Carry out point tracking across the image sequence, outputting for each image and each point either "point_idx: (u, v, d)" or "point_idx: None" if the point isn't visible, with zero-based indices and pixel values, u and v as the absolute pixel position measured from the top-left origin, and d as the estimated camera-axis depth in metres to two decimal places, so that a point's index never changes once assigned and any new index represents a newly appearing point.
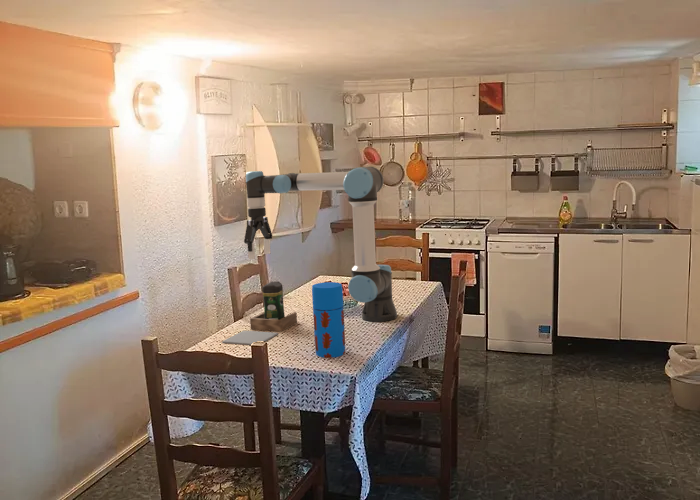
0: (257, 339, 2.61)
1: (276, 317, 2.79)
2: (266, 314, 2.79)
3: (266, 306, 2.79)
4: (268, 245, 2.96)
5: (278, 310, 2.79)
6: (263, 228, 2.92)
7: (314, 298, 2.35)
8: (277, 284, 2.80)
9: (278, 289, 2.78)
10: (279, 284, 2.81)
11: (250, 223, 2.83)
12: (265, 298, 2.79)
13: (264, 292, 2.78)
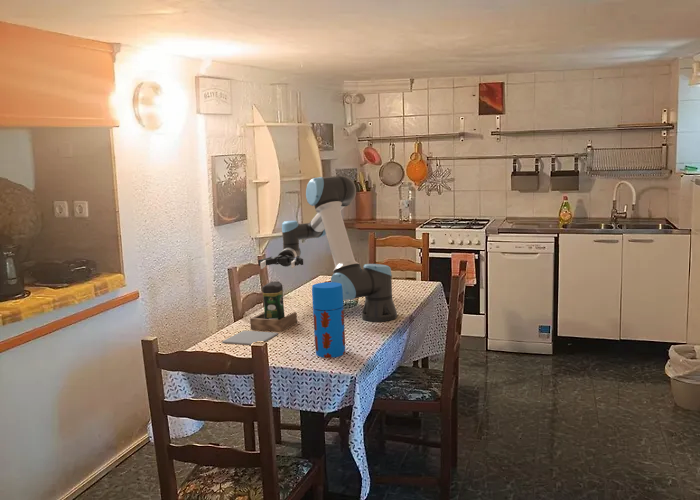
0: (257, 339, 2.61)
1: (276, 317, 2.79)
2: (266, 314, 2.79)
3: (266, 306, 2.79)
4: None
5: (278, 310, 2.79)
6: (289, 258, 3.00)
7: (314, 298, 2.35)
8: (277, 284, 2.80)
9: (278, 289, 2.78)
10: (279, 284, 2.81)
11: None
12: (265, 298, 2.79)
13: (264, 292, 2.78)
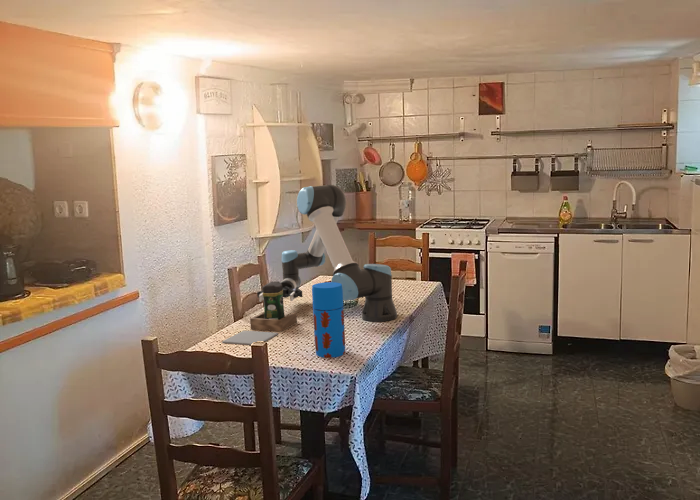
0: (257, 339, 2.61)
1: (276, 317, 2.79)
2: (266, 314, 2.79)
3: (266, 306, 2.79)
4: None
5: (278, 310, 2.79)
6: (288, 290, 2.99)
7: (314, 298, 2.35)
8: (277, 284, 2.80)
9: (278, 289, 2.78)
10: (279, 284, 2.81)
11: None
12: (265, 298, 2.79)
13: (264, 292, 2.78)
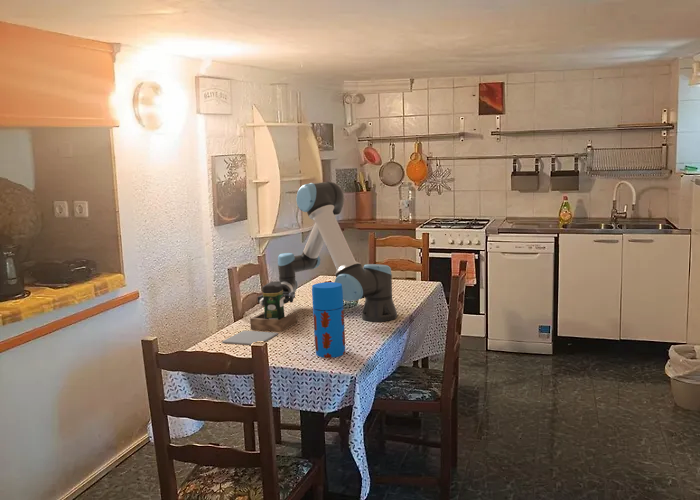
0: (257, 339, 2.61)
1: (276, 316, 2.79)
2: (266, 314, 2.79)
3: (266, 306, 2.79)
4: (281, 299, 2.80)
5: (278, 310, 2.79)
6: None
7: (314, 298, 2.35)
8: (277, 284, 2.80)
9: (278, 289, 2.78)
10: (279, 284, 2.81)
11: None
12: (265, 298, 2.79)
13: (264, 292, 2.78)
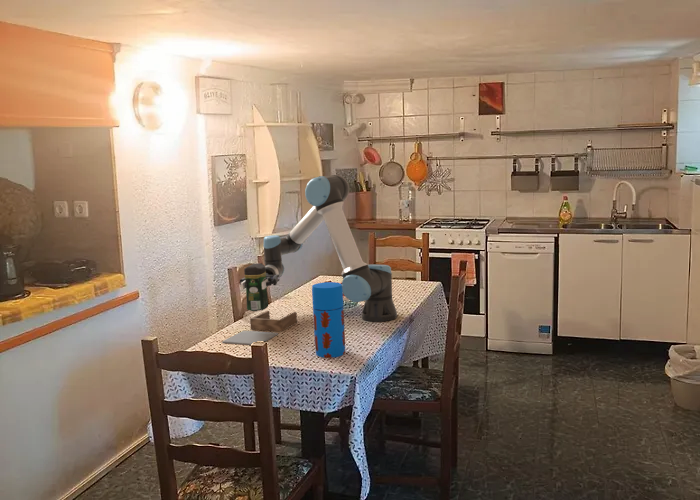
0: (257, 339, 2.61)
1: (258, 299, 2.69)
2: (248, 297, 2.70)
3: (248, 288, 2.69)
4: None
5: (260, 293, 2.69)
6: (266, 277, 2.80)
7: (314, 298, 2.35)
8: (260, 266, 2.70)
9: (260, 271, 2.68)
10: (262, 266, 2.71)
11: None
12: (247, 280, 2.69)
13: (246, 274, 2.68)
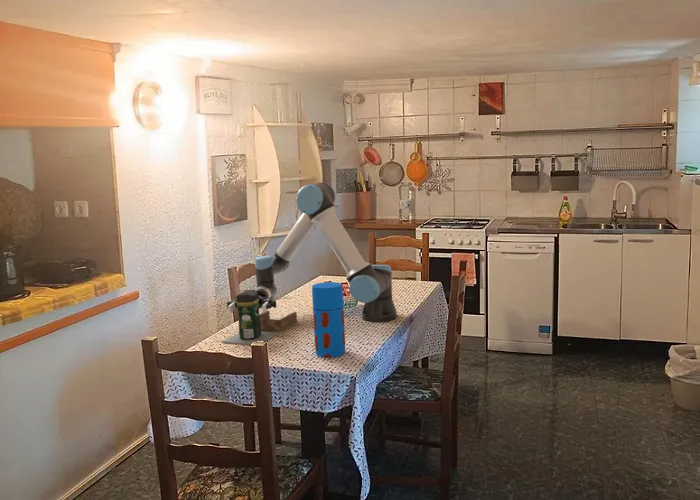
0: (257, 339, 2.61)
1: (251, 327, 2.60)
2: (240, 325, 2.61)
3: (240, 316, 2.61)
4: None
5: (253, 320, 2.61)
6: (261, 300, 2.71)
7: (314, 298, 2.35)
8: (252, 293, 2.62)
9: (253, 298, 2.60)
10: (254, 293, 2.63)
11: None
12: (239, 308, 2.60)
13: (238, 301, 2.59)
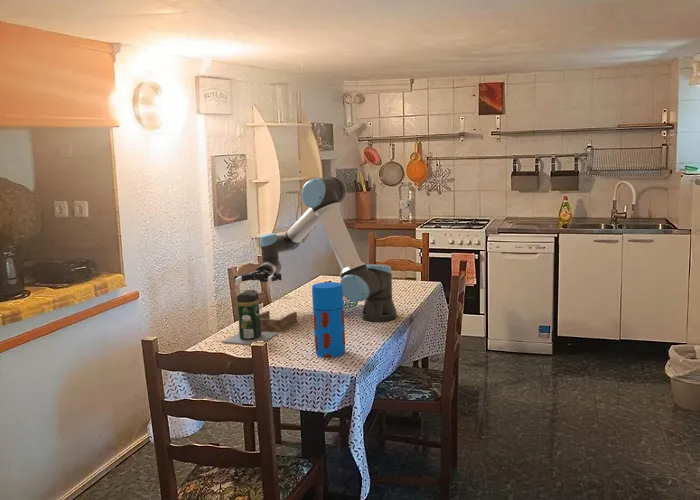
0: (257, 339, 2.61)
1: (252, 328, 2.60)
2: (241, 325, 2.61)
3: (240, 316, 2.61)
4: None
5: (253, 321, 2.61)
6: (267, 273, 2.83)
7: (314, 298, 2.35)
8: (252, 293, 2.62)
9: (253, 298, 2.60)
10: (255, 293, 2.63)
11: None
12: (239, 308, 2.60)
13: (238, 301, 2.59)
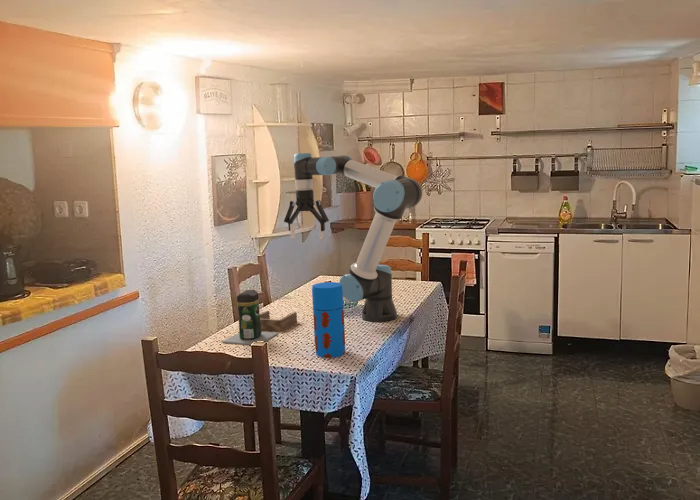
0: (257, 339, 2.61)
1: (252, 328, 2.60)
2: (241, 325, 2.61)
3: (240, 316, 2.61)
4: None
5: (253, 321, 2.61)
6: None
7: (314, 298, 2.35)
8: (252, 293, 2.62)
9: (253, 298, 2.60)
10: (255, 293, 2.63)
11: None
12: (239, 308, 2.60)
13: (238, 301, 2.59)
